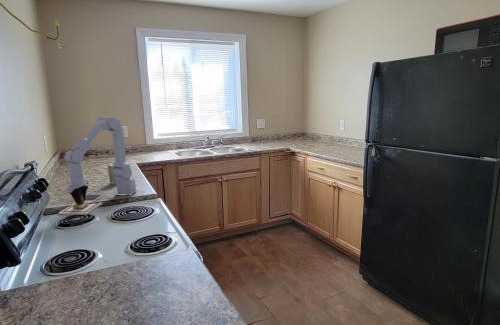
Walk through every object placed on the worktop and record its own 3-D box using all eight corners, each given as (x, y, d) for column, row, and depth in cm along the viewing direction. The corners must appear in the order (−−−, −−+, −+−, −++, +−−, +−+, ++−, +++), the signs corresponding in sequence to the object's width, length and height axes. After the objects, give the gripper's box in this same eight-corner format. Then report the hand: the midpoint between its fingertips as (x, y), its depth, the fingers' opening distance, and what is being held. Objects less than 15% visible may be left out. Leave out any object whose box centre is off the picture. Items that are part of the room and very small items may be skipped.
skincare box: (119, 181, 198) (117, 162, 195) (122, 182, 195) (120, 163, 192) (109, 183, 193) (107, 164, 190) (112, 184, 190) (110, 165, 188)
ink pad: (101, 197, 169) (101, 194, 168) (93, 202, 161) (93, 199, 161) (87, 197, 169) (87, 194, 169) (79, 202, 161) (78, 199, 161)
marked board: (102, 203, 159) (102, 202, 158) (87, 214, 145) (86, 212, 145) (76, 203, 159) (76, 201, 159) (58, 214, 146) (58, 212, 146)
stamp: (88, 204, 154) (87, 193, 153) (82, 208, 149) (80, 196, 148) (79, 204, 155) (77, 193, 153) (72, 208, 150) (71, 196, 148)
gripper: (77, 171, 155) (81, 196, 159) (58, 179, 141) (63, 207, 145) (91, 171, 155) (94, 196, 158) (73, 179, 141) (77, 207, 144)
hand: (80, 201), depth 151 cm, fingers closed on stamp, 3 cm apart
